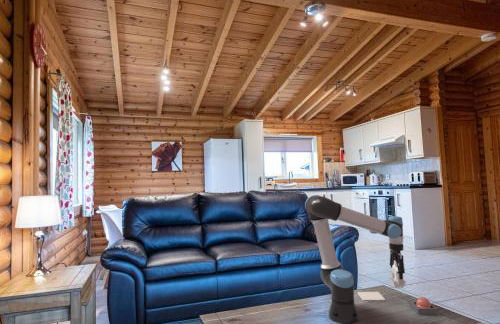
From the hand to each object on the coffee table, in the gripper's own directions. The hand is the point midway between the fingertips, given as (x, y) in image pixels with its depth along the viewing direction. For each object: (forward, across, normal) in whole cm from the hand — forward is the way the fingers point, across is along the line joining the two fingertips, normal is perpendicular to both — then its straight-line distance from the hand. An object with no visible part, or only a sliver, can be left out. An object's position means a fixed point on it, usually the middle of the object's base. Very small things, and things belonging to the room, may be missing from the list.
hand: (397, 281), depth 190 cm
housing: (+12, -11, -10) cm, 19 cm away
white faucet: (+3, 0, 0) cm, 3 cm away
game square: (+12, +10, +12) cm, 20 cm away
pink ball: (+13, -11, -10) cm, 19 cm away
